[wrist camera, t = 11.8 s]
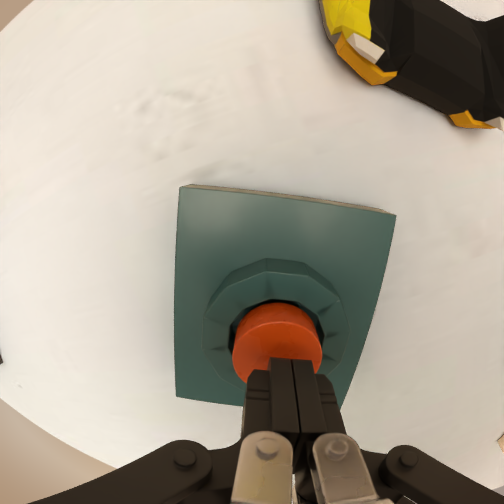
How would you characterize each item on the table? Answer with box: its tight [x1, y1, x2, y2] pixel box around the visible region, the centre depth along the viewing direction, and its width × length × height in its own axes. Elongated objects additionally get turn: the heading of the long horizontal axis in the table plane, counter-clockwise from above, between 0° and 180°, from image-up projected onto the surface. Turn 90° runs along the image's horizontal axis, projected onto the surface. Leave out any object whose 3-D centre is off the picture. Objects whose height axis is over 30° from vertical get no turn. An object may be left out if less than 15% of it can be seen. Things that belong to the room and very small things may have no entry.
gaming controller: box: [318, 0, 504, 131], centre depth 9 cm, size 15×6×10 cm
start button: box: [232, 303, 322, 384], centre depth 12 cm, size 4×4×2 cm
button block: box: [174, 184, 396, 409], centre depth 15 cm, size 12×10×4 cm
